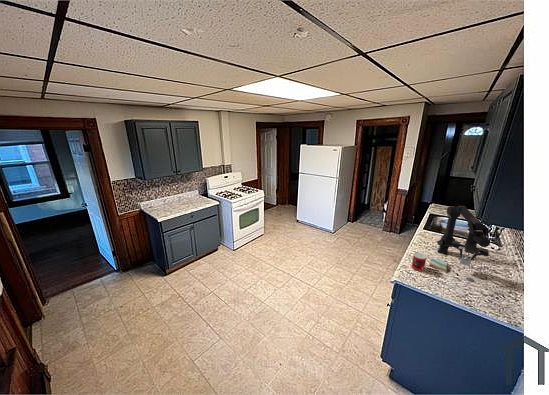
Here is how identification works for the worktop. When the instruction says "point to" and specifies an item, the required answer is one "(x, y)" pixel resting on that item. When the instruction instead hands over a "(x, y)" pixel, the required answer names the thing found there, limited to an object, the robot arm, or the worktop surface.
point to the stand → (438, 264)
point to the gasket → (469, 279)
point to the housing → (465, 260)
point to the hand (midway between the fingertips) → (466, 258)
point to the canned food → (418, 261)
